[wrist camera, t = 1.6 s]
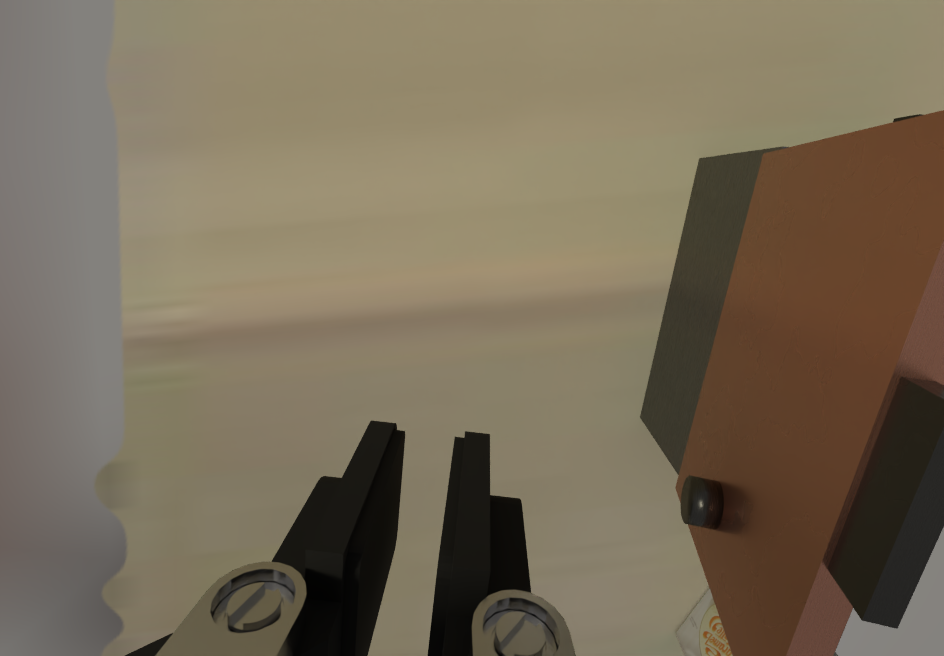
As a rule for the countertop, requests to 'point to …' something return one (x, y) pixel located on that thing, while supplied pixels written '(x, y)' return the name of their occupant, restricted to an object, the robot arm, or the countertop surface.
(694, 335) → the cooker base
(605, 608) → the countertop surface
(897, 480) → the lid
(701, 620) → the coffee box
